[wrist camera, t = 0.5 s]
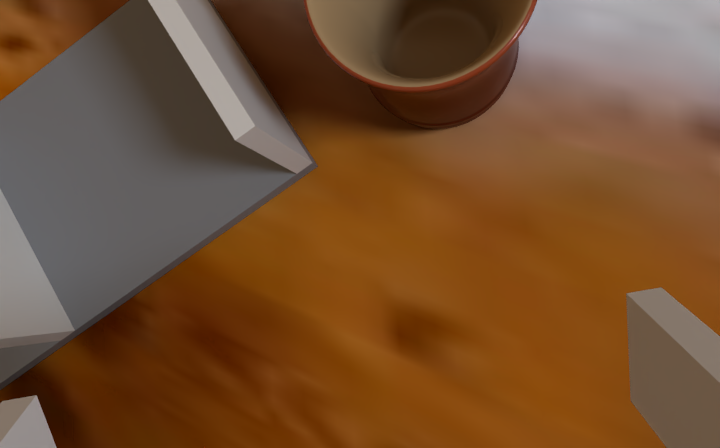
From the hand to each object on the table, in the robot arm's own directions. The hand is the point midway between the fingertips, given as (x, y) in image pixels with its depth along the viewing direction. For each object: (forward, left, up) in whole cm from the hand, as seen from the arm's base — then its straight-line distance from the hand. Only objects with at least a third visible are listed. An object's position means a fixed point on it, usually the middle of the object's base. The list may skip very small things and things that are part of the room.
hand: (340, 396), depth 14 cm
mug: (+12, -7, -19) cm, 24 cm away
